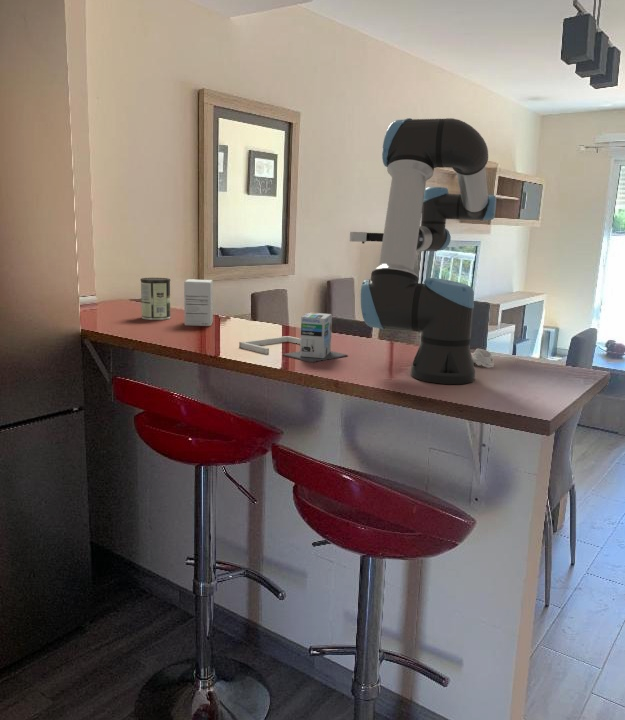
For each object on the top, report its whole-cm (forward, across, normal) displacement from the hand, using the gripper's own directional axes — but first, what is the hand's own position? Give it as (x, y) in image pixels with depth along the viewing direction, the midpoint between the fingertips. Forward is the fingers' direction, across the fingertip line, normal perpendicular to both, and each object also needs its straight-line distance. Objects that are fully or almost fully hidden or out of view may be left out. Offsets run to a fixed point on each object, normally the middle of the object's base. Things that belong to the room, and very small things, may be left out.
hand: (369, 237), depth 179 cm
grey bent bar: (+18, +17, -32) cm, 40 cm away
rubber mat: (+18, +2, -32) cm, 37 cm away
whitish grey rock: (-11, -32, -32) cm, 47 cm away
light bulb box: (+18, +2, -32) cm, 36 cm away
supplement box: (+12, +64, -32) cm, 73 cm away
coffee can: (+17, +83, -32) cm, 91 cm away
